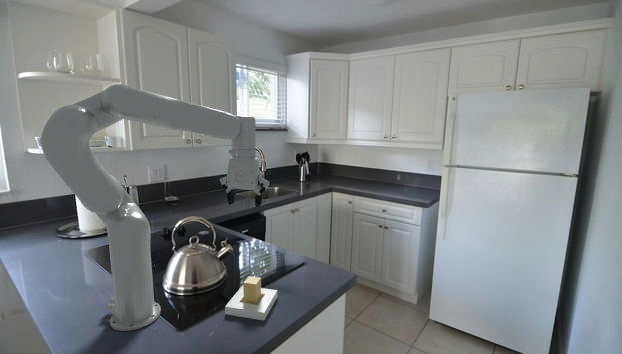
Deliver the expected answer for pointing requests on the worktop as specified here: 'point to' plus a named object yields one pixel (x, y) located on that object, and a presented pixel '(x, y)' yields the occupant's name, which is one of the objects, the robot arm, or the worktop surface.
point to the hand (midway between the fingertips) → (244, 204)
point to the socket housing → (251, 305)
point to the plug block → (252, 290)
